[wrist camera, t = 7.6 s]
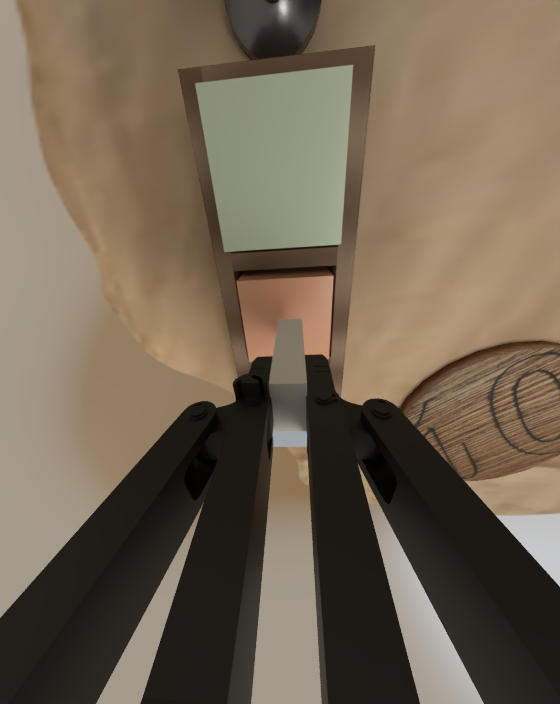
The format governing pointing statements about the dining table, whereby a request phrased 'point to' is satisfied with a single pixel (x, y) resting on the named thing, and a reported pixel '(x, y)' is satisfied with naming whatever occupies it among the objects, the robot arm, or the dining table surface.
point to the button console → (330, 256)
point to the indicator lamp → (273, 25)
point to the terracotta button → (286, 307)
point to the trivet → (492, 410)
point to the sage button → (278, 156)
